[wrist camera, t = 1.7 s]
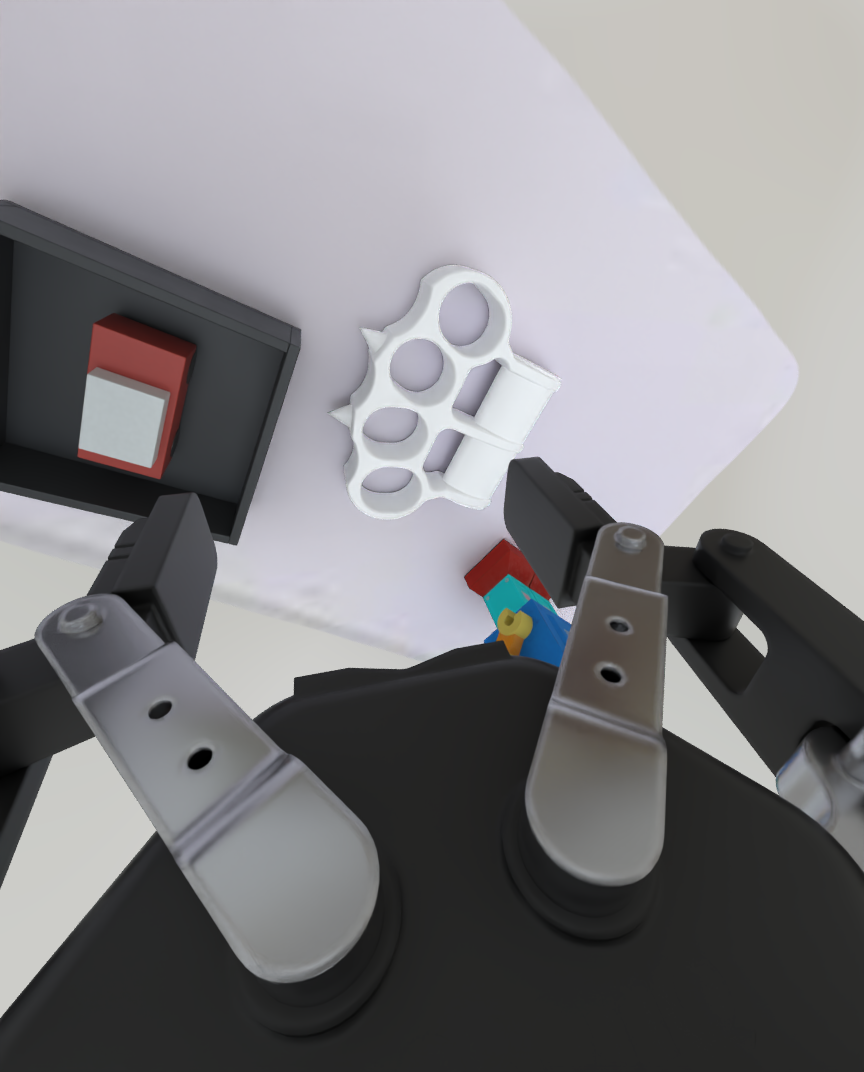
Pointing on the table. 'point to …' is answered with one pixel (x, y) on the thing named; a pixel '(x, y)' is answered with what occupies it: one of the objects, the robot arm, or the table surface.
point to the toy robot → (519, 605)
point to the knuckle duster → (445, 405)
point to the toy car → (134, 395)
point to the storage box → (62, 362)
